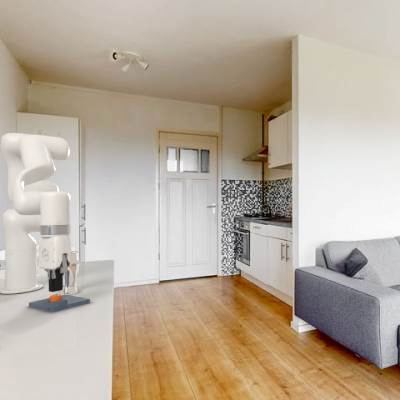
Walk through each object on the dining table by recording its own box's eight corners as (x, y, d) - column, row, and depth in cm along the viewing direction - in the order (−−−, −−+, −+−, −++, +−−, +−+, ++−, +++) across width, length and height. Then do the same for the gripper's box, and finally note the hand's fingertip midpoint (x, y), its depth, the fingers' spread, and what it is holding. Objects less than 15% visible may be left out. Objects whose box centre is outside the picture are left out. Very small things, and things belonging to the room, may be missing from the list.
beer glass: (70, 295, 122) (70, 253, 122) (51, 295, 122) (51, 253, 122) (83, 290, 129) (83, 251, 129) (65, 290, 129) (65, 251, 129)
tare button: (47, 301, 105) (47, 296, 105) (58, 299, 107) (58, 293, 107) (53, 303, 103) (52, 297, 103) (63, 300, 106) (63, 294, 106)
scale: (25, 307, 108) (25, 298, 108) (65, 298, 118) (65, 289, 118) (50, 313, 101) (50, 303, 101) (90, 303, 112) (90, 294, 112)
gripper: (28, 231, 106) (29, 291, 105) (55, 232, 99) (55, 296, 98) (55, 230, 112) (55, 286, 112) (82, 230, 105) (82, 290, 105)
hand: (55, 290), depth 105 cm, fingers closed
